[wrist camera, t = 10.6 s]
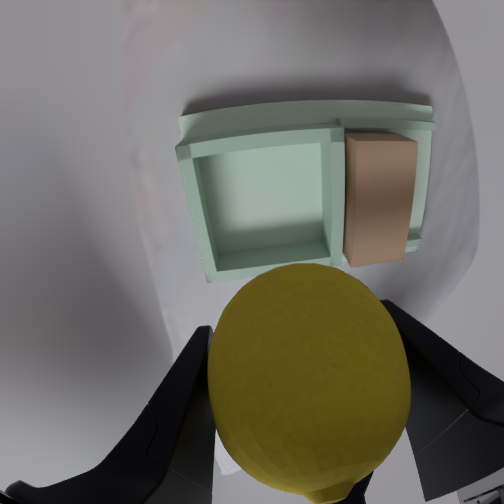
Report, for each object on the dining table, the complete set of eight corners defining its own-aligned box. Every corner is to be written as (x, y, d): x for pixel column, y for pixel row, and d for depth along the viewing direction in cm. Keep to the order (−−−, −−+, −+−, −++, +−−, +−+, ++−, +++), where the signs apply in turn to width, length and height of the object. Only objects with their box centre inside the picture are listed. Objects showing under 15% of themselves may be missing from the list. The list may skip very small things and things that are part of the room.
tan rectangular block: (385, 236, 20) (403, 258, 17) (337, 243, 20) (350, 267, 17) (393, 131, 15) (417, 141, 13) (337, 131, 16) (356, 141, 13)
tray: (411, 244, 22) (429, 265, 19) (214, 271, 22) (211, 298, 20) (424, 104, 15) (451, 111, 13) (181, 115, 16) (169, 121, 13)
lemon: (349, 200, 9) (495, 425, 2) (358, 312, 12) (418, 480, 5) (191, 242, 10) (146, 501, 3) (240, 342, 13) (246, 517, 6)
